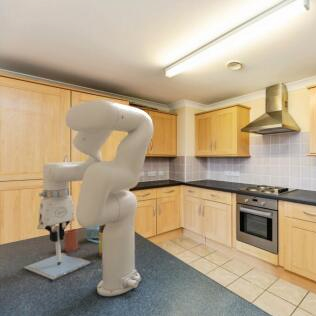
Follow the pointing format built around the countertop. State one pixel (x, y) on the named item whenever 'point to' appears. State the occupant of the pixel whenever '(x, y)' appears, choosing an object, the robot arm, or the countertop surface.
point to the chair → (93, 234)
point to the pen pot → (71, 240)
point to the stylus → (58, 246)
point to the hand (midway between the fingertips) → (57, 240)
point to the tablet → (57, 266)
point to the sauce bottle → (100, 239)
